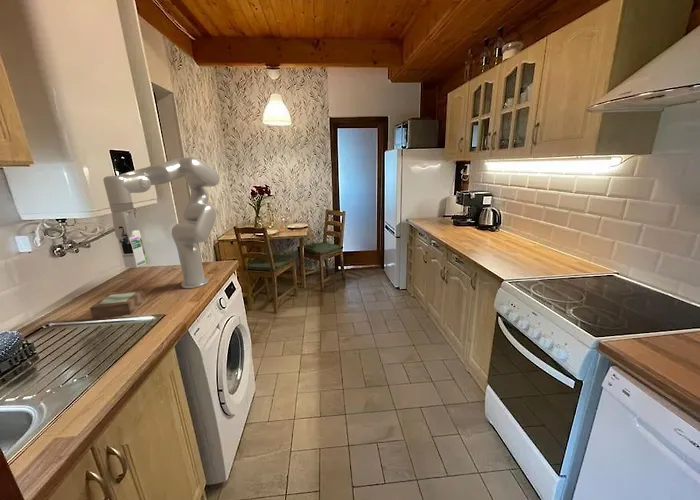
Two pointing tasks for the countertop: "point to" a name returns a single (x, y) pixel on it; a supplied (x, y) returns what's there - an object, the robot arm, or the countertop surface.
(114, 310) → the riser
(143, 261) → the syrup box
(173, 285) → the countertop surface
